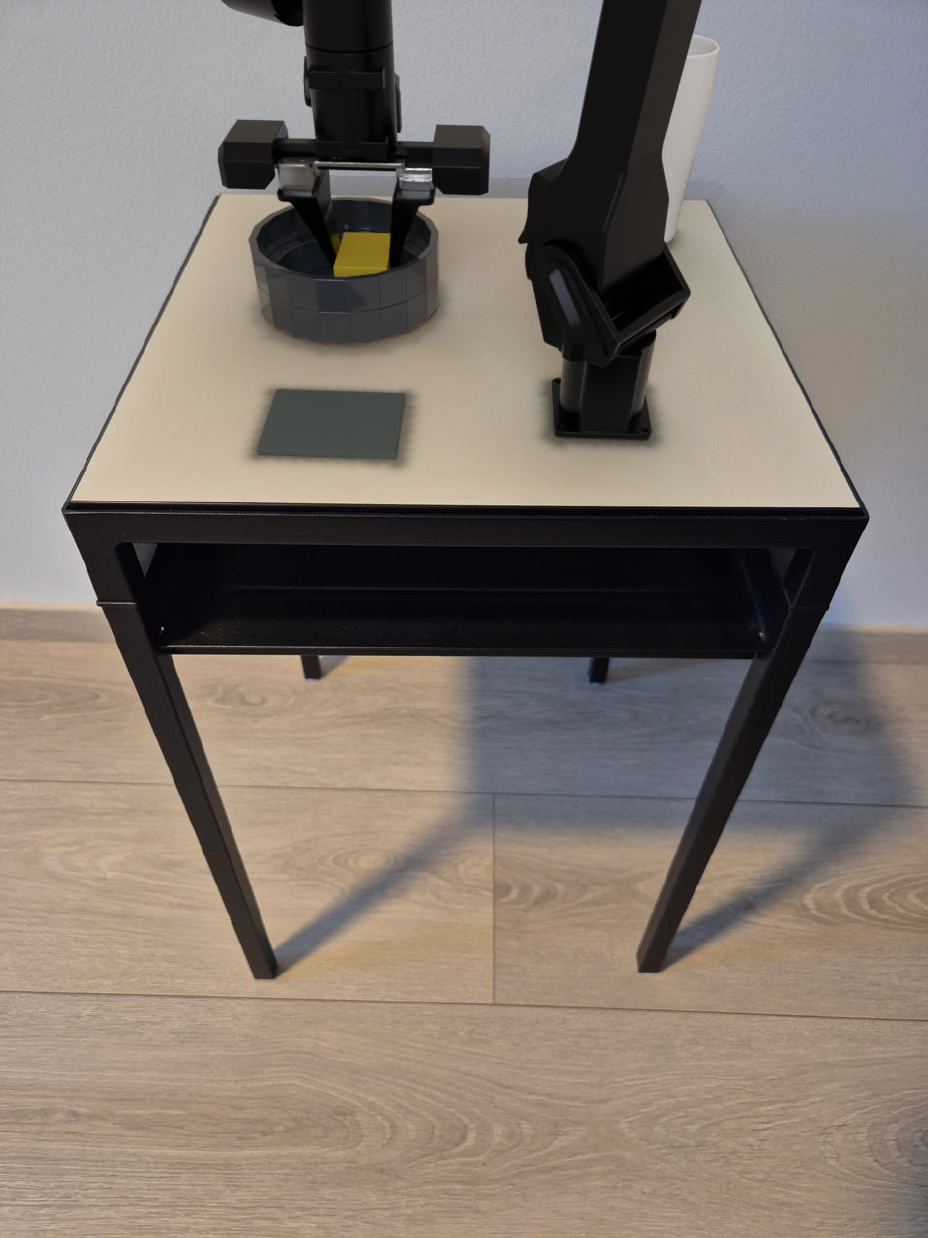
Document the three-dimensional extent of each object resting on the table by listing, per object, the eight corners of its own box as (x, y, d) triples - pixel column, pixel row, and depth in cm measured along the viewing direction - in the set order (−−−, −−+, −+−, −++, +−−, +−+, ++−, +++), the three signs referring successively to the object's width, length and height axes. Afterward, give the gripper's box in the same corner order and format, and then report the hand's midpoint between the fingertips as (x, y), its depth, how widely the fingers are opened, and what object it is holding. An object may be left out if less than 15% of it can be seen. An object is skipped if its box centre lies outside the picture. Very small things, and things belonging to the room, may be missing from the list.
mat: (395, 459, 56) (395, 454, 55) (257, 454, 56) (256, 449, 56) (405, 397, 60) (404, 392, 60) (277, 393, 61) (276, 388, 60)
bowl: (433, 353, 64) (432, 282, 60) (244, 347, 65) (230, 276, 61) (443, 265, 74) (443, 199, 70) (278, 260, 74) (269, 193, 70)
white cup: (681, 256, 76) (721, 59, 64) (604, 248, 76) (630, 52, 65) (683, 223, 80) (721, 34, 69) (610, 216, 81) (636, 28, 70)
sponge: (389, 306, 66) (386, 267, 64) (337, 304, 66) (333, 266, 64) (396, 269, 70) (394, 232, 68) (347, 268, 70) (343, 231, 68)
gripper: (494, 10, 61) (488, 232, 73) (233, 4, 62) (267, 226, 73) (492, 57, 54) (485, 296, 65) (194, 50, 54) (239, 289, 66)
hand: (366, 273), depth 67 cm, fingers closed on sponge, 4 cm apart
